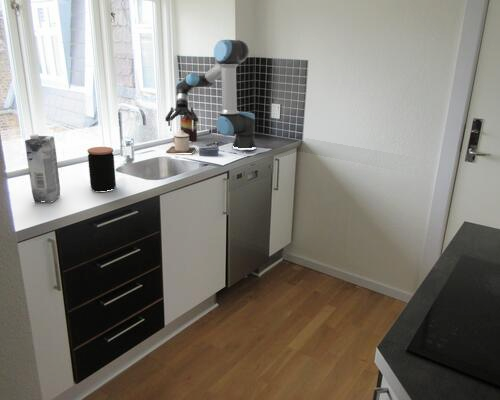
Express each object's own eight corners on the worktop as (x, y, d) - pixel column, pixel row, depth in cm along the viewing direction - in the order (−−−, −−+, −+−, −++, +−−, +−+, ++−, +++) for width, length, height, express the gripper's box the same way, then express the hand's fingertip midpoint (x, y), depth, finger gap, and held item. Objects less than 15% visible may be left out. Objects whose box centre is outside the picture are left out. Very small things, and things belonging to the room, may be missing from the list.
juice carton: (63, 195, 185) (55, 132, 176) (53, 204, 176) (45, 138, 166) (41, 194, 185) (33, 131, 176) (30, 203, 175) (21, 137, 166)
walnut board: (195, 149, 271) (195, 147, 270) (191, 154, 258) (191, 152, 257) (172, 148, 272) (172, 146, 271) (166, 153, 258) (166, 151, 258)
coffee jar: (107, 183, 202) (104, 145, 196) (120, 188, 196) (118, 149, 190) (86, 188, 195) (82, 149, 188) (99, 194, 188) (96, 153, 182)
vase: (191, 137, 302) (191, 108, 295) (199, 140, 294) (199, 110, 287) (177, 139, 295) (177, 109, 288) (186, 142, 288) (185, 111, 281)
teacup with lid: (192, 149, 264) (192, 130, 260) (182, 152, 257) (181, 132, 253) (178, 146, 271) (178, 127, 267) (167, 149, 264) (167, 129, 260)
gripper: (201, 106, 285) (201, 133, 276) (162, 105, 282) (161, 133, 273) (201, 98, 278) (201, 126, 269) (161, 98, 275) (160, 126, 266)
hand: (181, 130), depth 271 cm, fingers open, 13 cm apart
